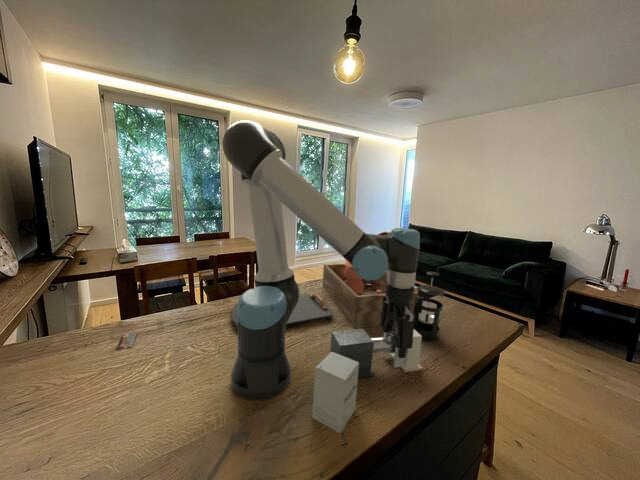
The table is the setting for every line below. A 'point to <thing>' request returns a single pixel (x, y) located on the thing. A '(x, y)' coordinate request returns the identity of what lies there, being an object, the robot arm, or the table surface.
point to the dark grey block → (354, 349)
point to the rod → (385, 343)
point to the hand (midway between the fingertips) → (392, 358)
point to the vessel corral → (357, 297)
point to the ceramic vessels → (354, 280)
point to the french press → (428, 319)
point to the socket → (412, 354)
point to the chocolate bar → (127, 341)
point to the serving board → (301, 310)
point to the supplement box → (335, 391)
